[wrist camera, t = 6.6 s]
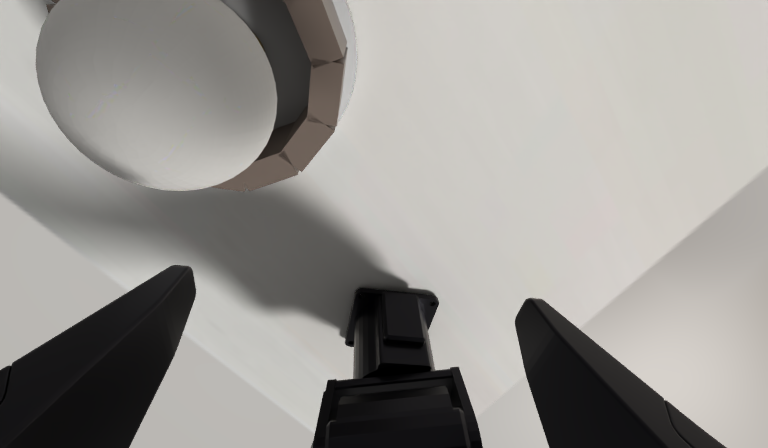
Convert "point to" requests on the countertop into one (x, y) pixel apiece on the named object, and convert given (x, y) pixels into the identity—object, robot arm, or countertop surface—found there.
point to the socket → (298, 80)
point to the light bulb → (158, 88)
